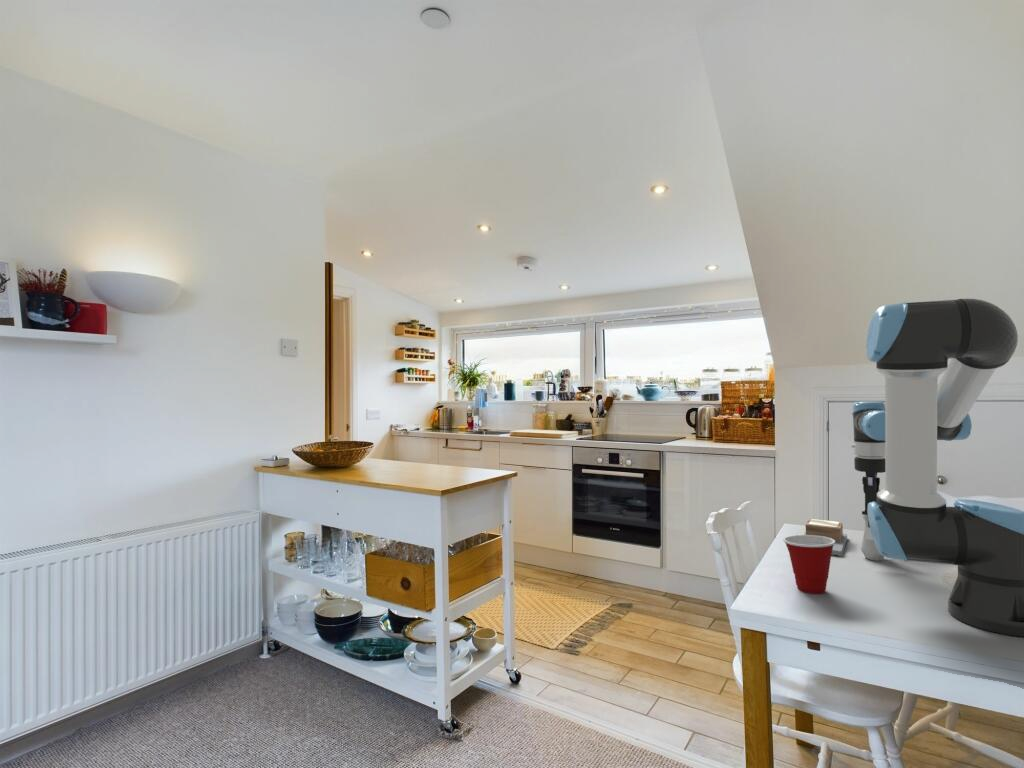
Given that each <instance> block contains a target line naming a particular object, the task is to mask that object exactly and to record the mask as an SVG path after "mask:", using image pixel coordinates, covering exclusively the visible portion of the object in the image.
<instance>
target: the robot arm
mask: <svg viewBox="0 0 1024 768" xmlns="http://www.w3.org/2000/svg"><path fill="white" fill-rule="evenodd" d="M1018 337H1019V336H1018V329H1017V327H1016V325H1015V323H1014V321H1013V319H1012V318H1011V316H1010V315H1009V314H1007V312H1005V310H1003V309H1002V308H1000V307H999V306H997V305H995V304H994V303H992V302H989V301H987V300H982V299H976V298H958V299H945V300H931V301H915V302H906V301H905V302H900V303H899V302H898V303H893V304H887V305H883V306H880V307H878V308H876V310H875V312H874V313H873V315H872V317H871V319H870V322H869V326H868V330H867V337H866V347H865V348H866V356H867V359H868V361H870V362H873V363H875V362H876V364H875V365H876V371H878V372H879V373H881V375H882V376H883V377H884V378H885V379H884V382H885V383H884V391H885V392H884V393H885V395H884V397H885V398H884V401H885V403H884V402H883V401H856V402H854V403H853V404H852V419H853V421H852V422H853V424H852V426H853V443H852V444H851V448H853V449H854V450H853V452H854V453H853V454H854V455H855V457H853V458H854V463H853V464H854V470H855V471H857V472H863V473H865V476H862V479H861V481H862V486H863V487H862V488H863V489H862V490H863V493H864V511H862V510H861V515H862V516H863V515H865V519H864V523H865V524H864V525H865V526H864V530H865V531H866V539H871V540H874V543H875V546H876V548H877V550H878V551H879V553H880V554H881V555H882V556H884V558H887V559H893V560H899V561H904V562H908V561H909V562H917V563H918V562H919V563H931V564H941V565H942V564H943V565H955V566H957V577H956V580H955V582H954V584H953V587H952V590H951V592H950V595H949V597H948V600H947V610H948V613H949V615H951V616H952V617H953V618H954V619H956V620H958V621H961V622H962V623H965V624H967V625H969V626H973V627H976V628H978V629H981V630H984V631H985V630H986V631H988V632H989V631H990V632H993V633H998V634H1003V635H1008V636H1014V637H1015V636H1016V637H1020V638H1021V637H1023V638H1024V511H1023V510H1020V509H1018V508H1015V507H1012V506H1008V505H1002V504H999V503H998V504H997V503H992V502H987V501H983V500H982V501H981V500H975V499H965V498H964V499H963V498H957V499H956V500H955V501H954V503H953V506H947V500H946V499H945V498H944V497H943V496H942V495H941V494H940V493H938V490H937V489H938V441H945V442H946V441H947V442H950V441H961V440H967V439H968V438H969V437H970V436H971V431H972V426H973V425H972V419H971V416H970V414H969V412H970V411H971V409H972V408H973V406H974V404H975V403H976V401H977V400H978V398H979V397H980V395H981V393H982V391H983V390H984V389H985V387H986V385H987V384H988V383H989V381H990V379H991V377H992V376H993V375H994V373H995V371H996V370H997V369H999V368H1001V367H1004V366H1005V365H1006V364H1007V363H1009V361H1010V360H1011V358H1012V357H1013V355H1014V354H1015V352H1016V349H1017V346H1018V341H1019V340H1018V339H1019V338H1018ZM949 359H950V360H949ZM948 360H949V361H948ZM941 374H942V376H941V377H940V380H939V382H938V377H939V376H940V375H941ZM879 473H881V474H882V473H885V474H884V475H885V486H884V487H883V488H882V489H880V485H881V479H880V478H881V477H878V474H879ZM879 490H880V491H879Z"/></svg>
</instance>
